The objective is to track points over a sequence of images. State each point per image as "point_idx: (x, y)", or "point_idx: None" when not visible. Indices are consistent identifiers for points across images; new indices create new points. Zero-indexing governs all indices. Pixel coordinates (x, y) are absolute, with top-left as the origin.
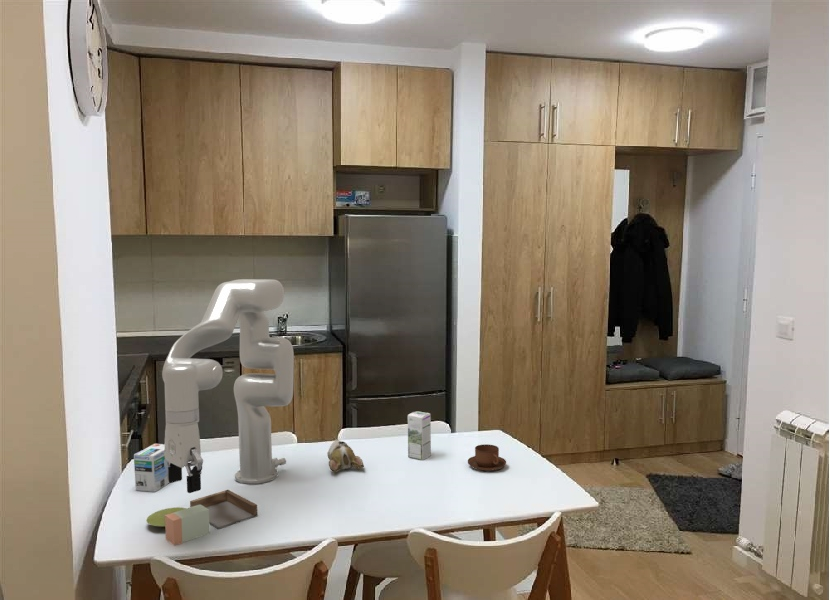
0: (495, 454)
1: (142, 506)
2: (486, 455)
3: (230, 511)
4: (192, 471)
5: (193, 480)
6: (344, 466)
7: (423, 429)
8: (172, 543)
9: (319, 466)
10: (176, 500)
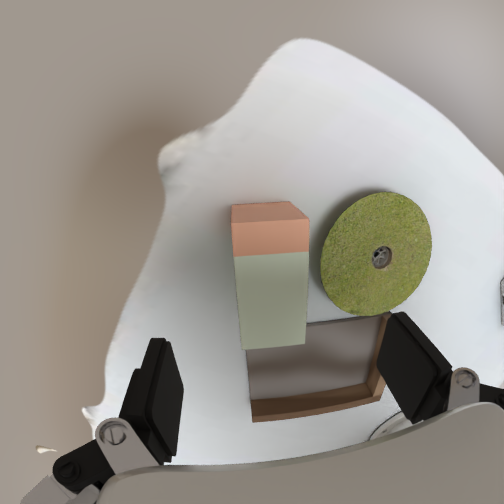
0: None
1: (482, 237)
2: None
3: (309, 376)
4: (100, 456)
5: (125, 408)
6: None
7: None
8: (244, 204)
9: None
10: (454, 303)
